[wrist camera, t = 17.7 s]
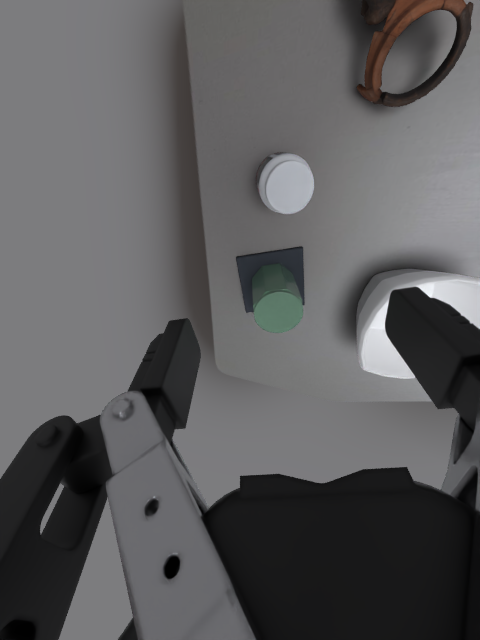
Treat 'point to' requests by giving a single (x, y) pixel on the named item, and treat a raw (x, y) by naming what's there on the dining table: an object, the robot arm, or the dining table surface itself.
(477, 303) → the bowl
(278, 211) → the pill bottle
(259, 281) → the cup
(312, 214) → the dining table surface
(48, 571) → the robot arm
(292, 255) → the coaster
